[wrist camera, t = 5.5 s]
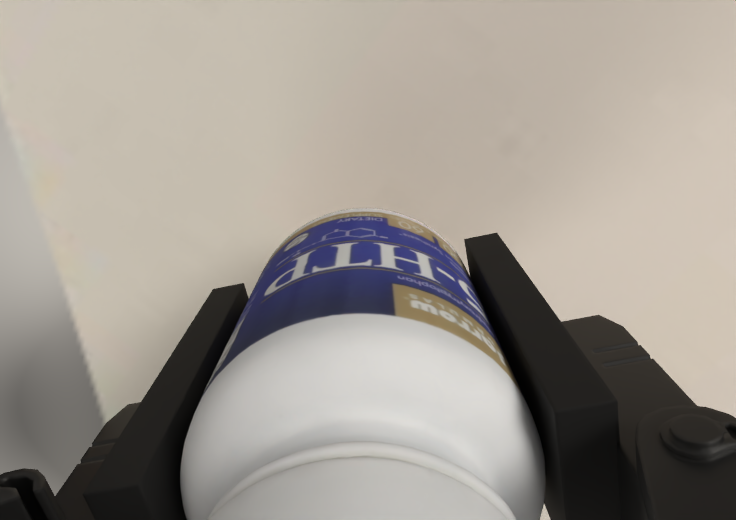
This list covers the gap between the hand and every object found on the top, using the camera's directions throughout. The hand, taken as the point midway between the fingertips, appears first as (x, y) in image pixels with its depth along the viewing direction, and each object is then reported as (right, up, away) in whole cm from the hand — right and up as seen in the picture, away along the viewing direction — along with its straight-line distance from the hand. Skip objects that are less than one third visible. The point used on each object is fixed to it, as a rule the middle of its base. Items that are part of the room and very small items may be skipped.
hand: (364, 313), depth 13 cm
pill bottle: (0, 0, +1) cm, 0 cm away
